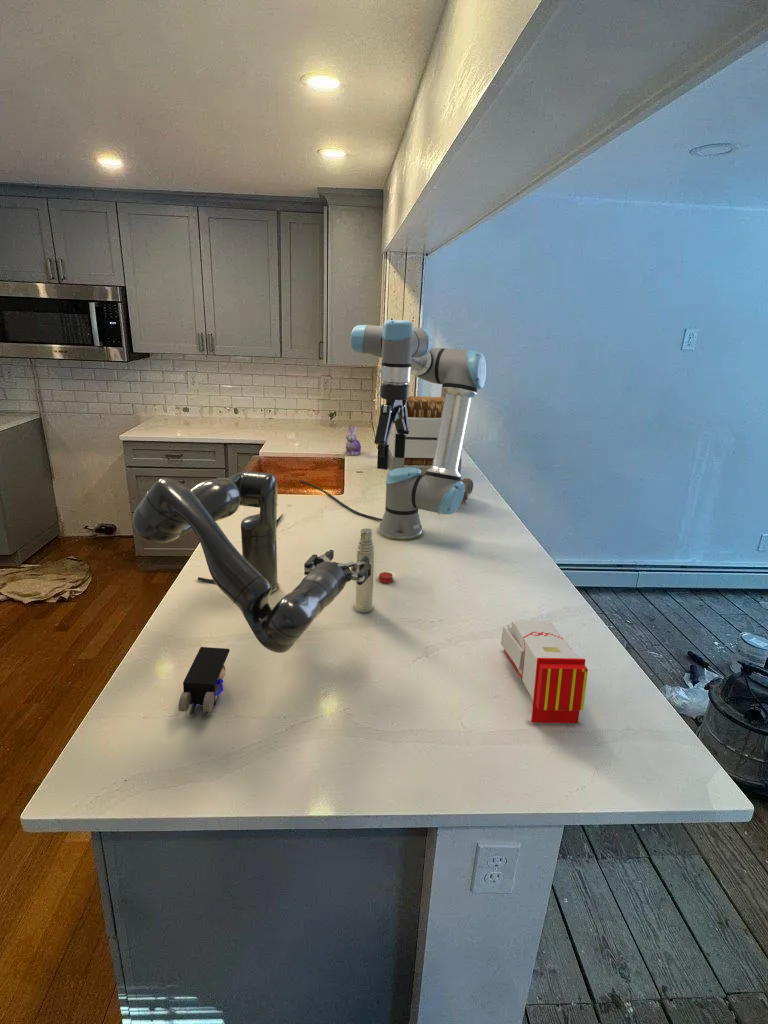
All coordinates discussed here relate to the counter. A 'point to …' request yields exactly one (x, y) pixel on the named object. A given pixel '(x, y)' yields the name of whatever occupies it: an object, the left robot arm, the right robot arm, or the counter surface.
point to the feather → (278, 519)
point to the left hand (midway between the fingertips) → (349, 556)
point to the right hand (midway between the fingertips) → (391, 463)
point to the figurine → (352, 442)
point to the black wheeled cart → (204, 680)
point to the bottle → (366, 589)
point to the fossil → (467, 489)
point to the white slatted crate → (419, 433)
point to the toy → (547, 670)
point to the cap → (385, 577)
